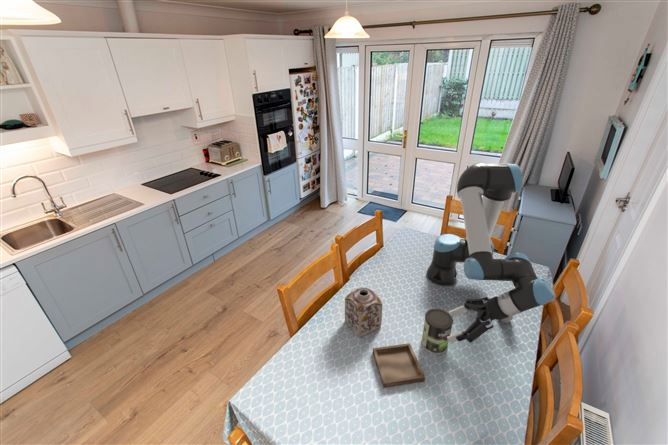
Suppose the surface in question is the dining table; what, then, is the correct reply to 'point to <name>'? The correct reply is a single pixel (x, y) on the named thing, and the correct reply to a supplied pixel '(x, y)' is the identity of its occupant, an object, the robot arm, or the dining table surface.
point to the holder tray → (397, 365)
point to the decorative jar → (363, 311)
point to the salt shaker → (507, 319)
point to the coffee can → (436, 331)
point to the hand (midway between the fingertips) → (450, 326)
